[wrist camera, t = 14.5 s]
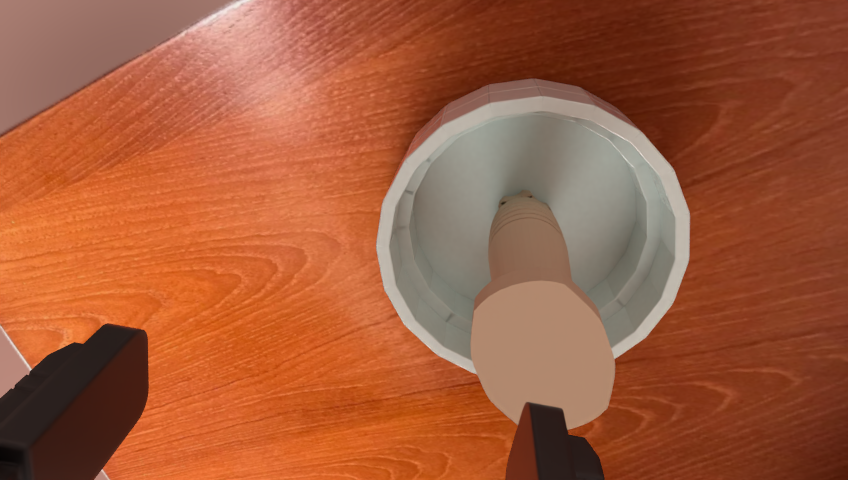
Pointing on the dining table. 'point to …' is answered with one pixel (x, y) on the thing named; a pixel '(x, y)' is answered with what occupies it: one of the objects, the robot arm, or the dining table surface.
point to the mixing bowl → (549, 183)
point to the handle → (538, 321)
